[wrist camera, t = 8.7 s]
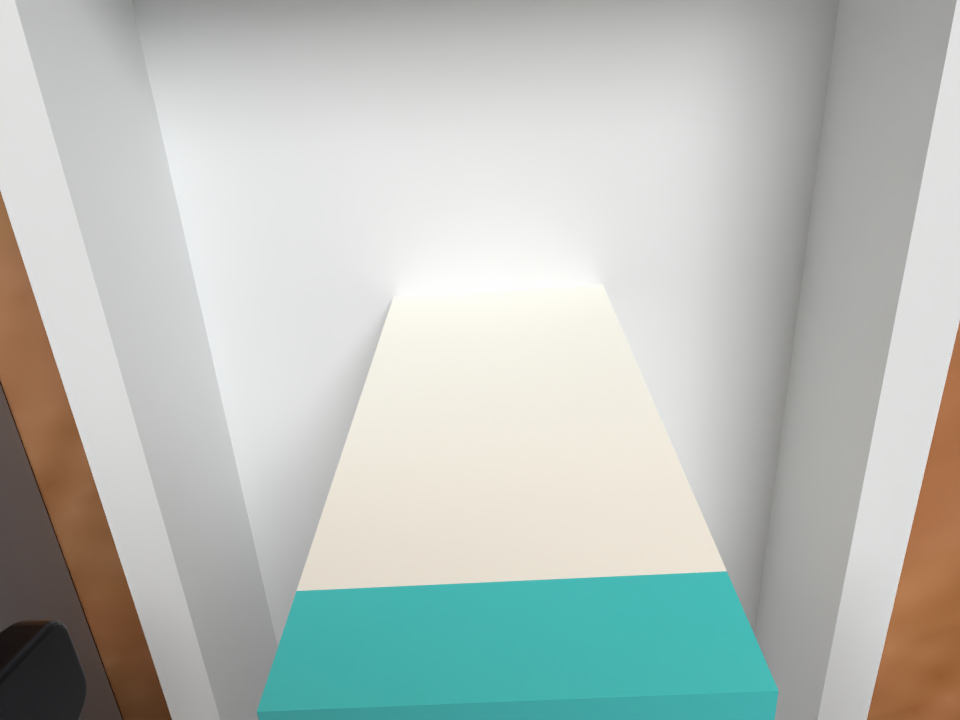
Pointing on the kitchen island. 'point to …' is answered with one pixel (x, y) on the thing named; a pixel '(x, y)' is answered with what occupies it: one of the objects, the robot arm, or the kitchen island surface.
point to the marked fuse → (513, 536)
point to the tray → (491, 272)
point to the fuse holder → (41, 568)
